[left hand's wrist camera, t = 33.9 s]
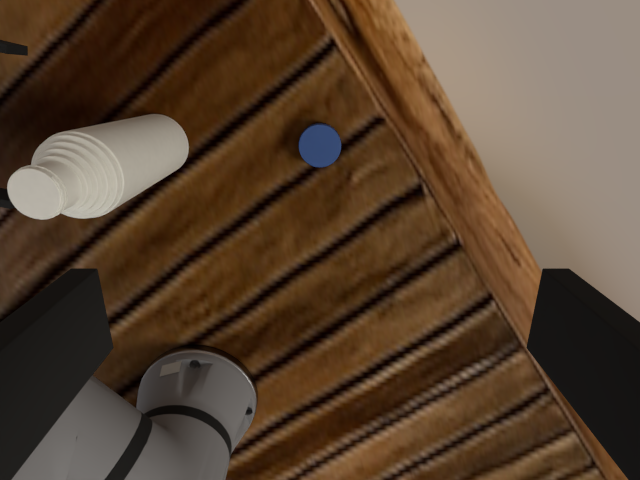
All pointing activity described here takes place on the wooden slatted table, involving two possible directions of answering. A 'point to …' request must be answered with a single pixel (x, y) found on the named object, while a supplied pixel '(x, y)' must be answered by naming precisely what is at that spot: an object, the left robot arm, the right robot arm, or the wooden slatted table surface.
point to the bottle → (98, 167)
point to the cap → (319, 145)
